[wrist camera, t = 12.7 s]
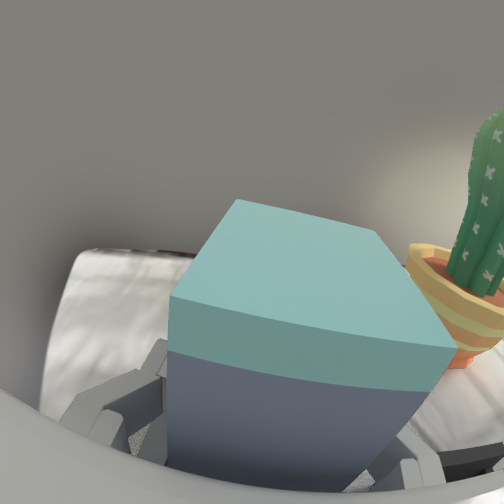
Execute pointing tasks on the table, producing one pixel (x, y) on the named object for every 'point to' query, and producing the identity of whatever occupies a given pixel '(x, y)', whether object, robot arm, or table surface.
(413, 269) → the potted cactus
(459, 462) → the dark grey open tray
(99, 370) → the table surface
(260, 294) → the plug
